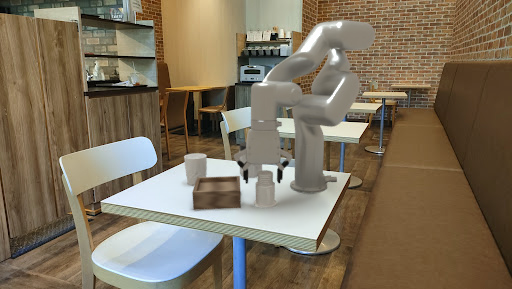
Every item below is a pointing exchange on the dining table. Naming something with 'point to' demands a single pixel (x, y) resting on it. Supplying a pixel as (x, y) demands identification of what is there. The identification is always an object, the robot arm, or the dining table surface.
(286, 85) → the robot arm
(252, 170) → the jar
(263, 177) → the downlight
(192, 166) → the white cup
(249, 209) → the dining table surface
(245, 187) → the dining table surface
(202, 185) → the walnut stand
